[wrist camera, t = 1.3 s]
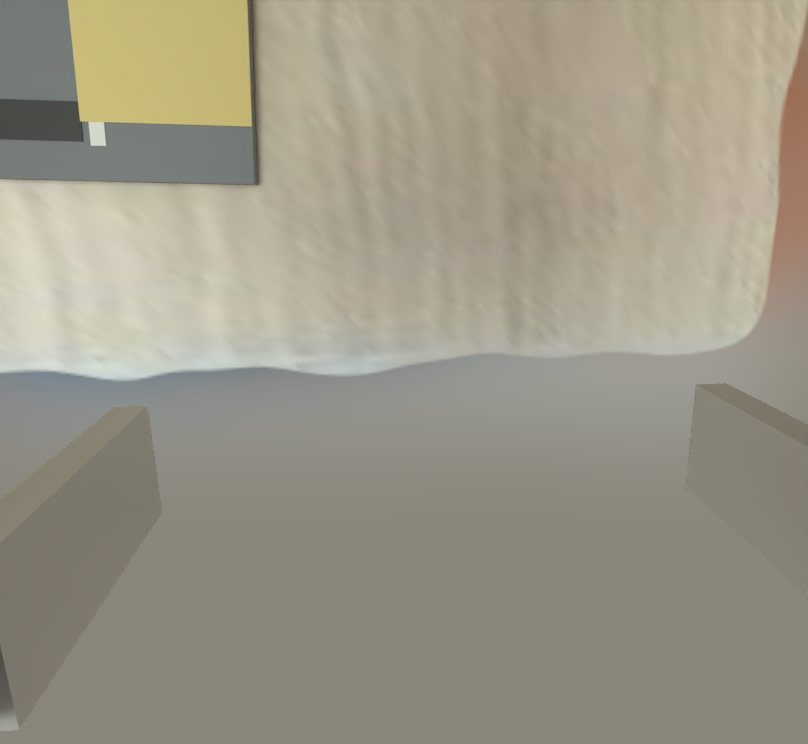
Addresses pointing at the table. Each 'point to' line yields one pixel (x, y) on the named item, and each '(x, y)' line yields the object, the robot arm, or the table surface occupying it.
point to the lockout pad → (162, 61)
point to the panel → (97, 141)
